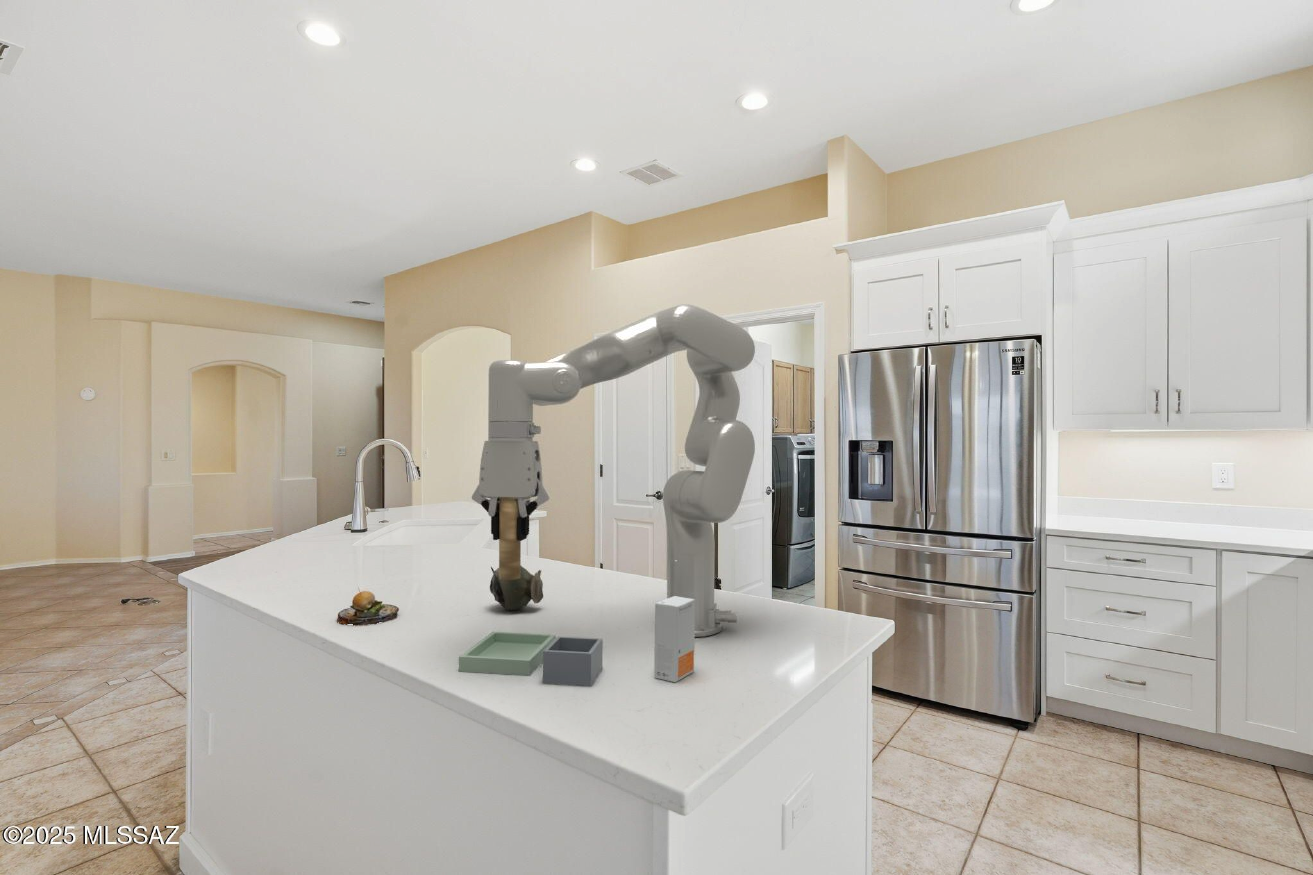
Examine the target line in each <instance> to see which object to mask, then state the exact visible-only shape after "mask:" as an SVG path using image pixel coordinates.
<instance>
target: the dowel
mask: <svg viewBox="0 0 1313 875" xmlns="http://www.w3.org/2000/svg"><path fill="white" fill-rule="evenodd" d="M519 514H520V511H519V504H518V499H512V498H501V499H499V539H498V545H499V546H498V568H499V579H502V580H514V579H519V578H520V566H522V565H521V561H522V560H521V559H522V558H521V554H522V553H521V547H522V546H521V545H522V544H521V542H522V541H518V540H517V518H518V517H519Z"/></svg>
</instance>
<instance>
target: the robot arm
mask: <svg viewBox="0 0 1313 875" xmlns="http://www.w3.org/2000/svg"><path fill="white" fill-rule="evenodd" d="M755 346H756V345H755V343H754V339H753V338H752V336H751V335H750V333H749V332H748V331H747V330H746V329H744V327H743V328H742V326H739V325H737V324H735V323H733V322H731V321H730V320H727V319H725V318H723V317H721V316H719V315H717V314H714V313H713V312H711V311H708V310H706V309H704V308H701V307H699V306H696V305H692V304H687V303H686V304H683V303H682V304H681V303H680V304H678V305H675V306H672V307H670V308H666V309H663V310H660V311H657V312H655V313H653V314H650V315H648V316H646V317H643V318H641V319H638V320H636V321H634V322H631V323H629V324H627V325H624V326H622V327H620V328H618V329H615V330H612V331H611V332H608V333H605V334H603V335H601V336H598V337H597V338H594V339H593V340H591V341H589V342H587V343H585V344H583V345H581V346H579V347H577V348H574V349H572V350H570V351H568V352H565V353H563V354H561V355H558V356H556V357H554V358H552V359H549V360H547V361H543V362H542V361H541V362H527V361H525V360H524V361H523V360H515V359H502V360H501V359H499V360H495V361H493V362H491V363H490V365H489V368H488V405H487V406H488V409H487V412H488V417H487V418H488V419H487V420H488V422H487V423H488V425H487V426H488V427H487V429H488V430H487V432H488V433H487V434H488V435H487V437H488V438H487V440H485V441H484V442H483V446H482V451H481V452H482V453H481V458H480V466H479V476H478V477H479V478H478V480H479V482H478V485H477V486H476V488H475V490H474V492H473V493H472V495H471V499H472V500H473V501H474V502H476V504H479V505H481V507H482V508H483V509H484V510H485V511H486V512H487V514H488V516H489V517H490V534H491V535H492V540H493V541H497V540H498V541H499V499H501V498H512V499H518V504H519V511H520V514H519V517H518V518H517V540H518V541H521V542H522V541H524V540H526V539H527V538H528V536H529V534H530V516H531V515H532V514H533V513H534V511H535V510H537V508H539V507H540V506H542V505H543V504H545V503H546V502H548V501H550V496H549V494H548V493H547V491H546V489H545V487H544V485H543V471H542V470H543V469H542V467H543V466H542V459H541V452H540V445H539V441H538V440H534V438H535V436H536V435H540V434H541V433H542V427H541V426H540V425H539V426H538V425H535V422H534V405H535V406H539V407H545V406H555V405H556V406H557V405H563V404H566V403H569V402H570V401H572V400H573V399H575V398H576V397H577V396H578V394H579V392H580V390H582V389H584V388H586V387H589V386H592V385H595V384H599V383H604V382H609V381H612V380H617V379H620V378H622V377H625V376H627V375H630V374H631V373H635V372H636V371H638V370H641V369H642V368H644V367H646V366H648V365H651V364H653V363H655V362H657V361H659V360H662V359H664V358H665V357H667V356H670V355H672V354H675V353H677V352H682V351H686V359H687V360H686V361H687V364H688V366H689V368H690V369H691V371H692V373H693V375H694V376H695V379H696V381H697V385H698V389H699V392H698V393H699V395H698V399H697V402H696V403H697V404H696V407H695V410H694V414H693V416H692V420H691V423H690V426H689V429H688V432H687V434H686V435H687V436H686V438H685V443H684V452H685V453H684V454H685V457H686V458H687V460H689V461H690V463H692V464H694V465H697V466H700V467H705V469H704V471H703V470H702V471H701V470H691V469H688V470H681V471H678V472H676V473H674V474H672V475H671V476H670V477H669V478H668V479H667V480H666V482H665V484H664V487H663V491H662V503H663V509H664V516H665V523H666V524H665V525H666V542H667V544H666V599H667V598H671V597H673V596H678V597H683V598H690V599H695V636H694V638H699V637H701V638H702V637H708V636H712V635H716V634H718V633H720V632H721V631H722V630H723V629H722V628H723V623H724V622H725V623H733V624H737V622H738V620H737V619H738V614H737V612H732V611H731V610H720V608H717V602H715V551H716V550H715V547H716V546H715V545H716V544H715V533H714V529H713V525H712V524H720V523H724V522H726V521H728V520H729V519H731V518H732V517H733V516H734V515H735V513H736V512H737V510H738V508H739V506H740V504H741V502H742V501H741V500H742V498H743V495H744V492H745V488H746V484H747V481H748V479H749V475H750V471H751V468H752V465H753V462H754V458H755V452H756V444H755V437H754V435H753V432H752V430H751V428H750V427H749V426H748V425H747V424H746V423H744V422H743V421H741V420H738V419H737V417H738V413H739V410H740V404H741V403H740V402H741V394H740V393H741V392H740V389H739V386H738V384H737V383H738V382H737V381H736V377H734V374H733V372H739V371H741V370H744V369H745V368H747V367H748V366H749V365H750V364H751V363H752V361H753V359H754V357H755V354H756V348H755ZM536 497H537V498H536ZM531 498H535V499H534V500H532V501H531Z"/></svg>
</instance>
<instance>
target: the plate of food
mask: <svg viewBox="0 0 1313 875" xmlns="http://www.w3.org/2000/svg"><path fill="white" fill-rule="evenodd" d="M357 589H358V591H359V592H358V593H356V594H355V595H354V596H353V598H352V602H351V603H352V604H351V605H350V606H349V607H348V608H344V609H342V610H340V611H339V612H338V613H337V623H338V622H339V623H338V624H339V625H340V624H342V625H343V624H353V626H354V625H355V626H354V627H357V626H358V625H359V626H358V627H361V626H363V625H364V626H368V625H367V624H374V625H378V624H377V623H379V622H383V623H385V622H389V621H393V620H395V619H397V617H398V612H399V611H400V608H399V607H398V606H396V605H392V604H383V600H382V601H381V600H380V601H379V600H377V599H376V596H375V594H374V593H373V592H371V591H367V590H364V591H360V588H359V587H357ZM379 624H380V623H379ZM353 626H352V627H353ZM364 626H363V627H364Z"/></svg>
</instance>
